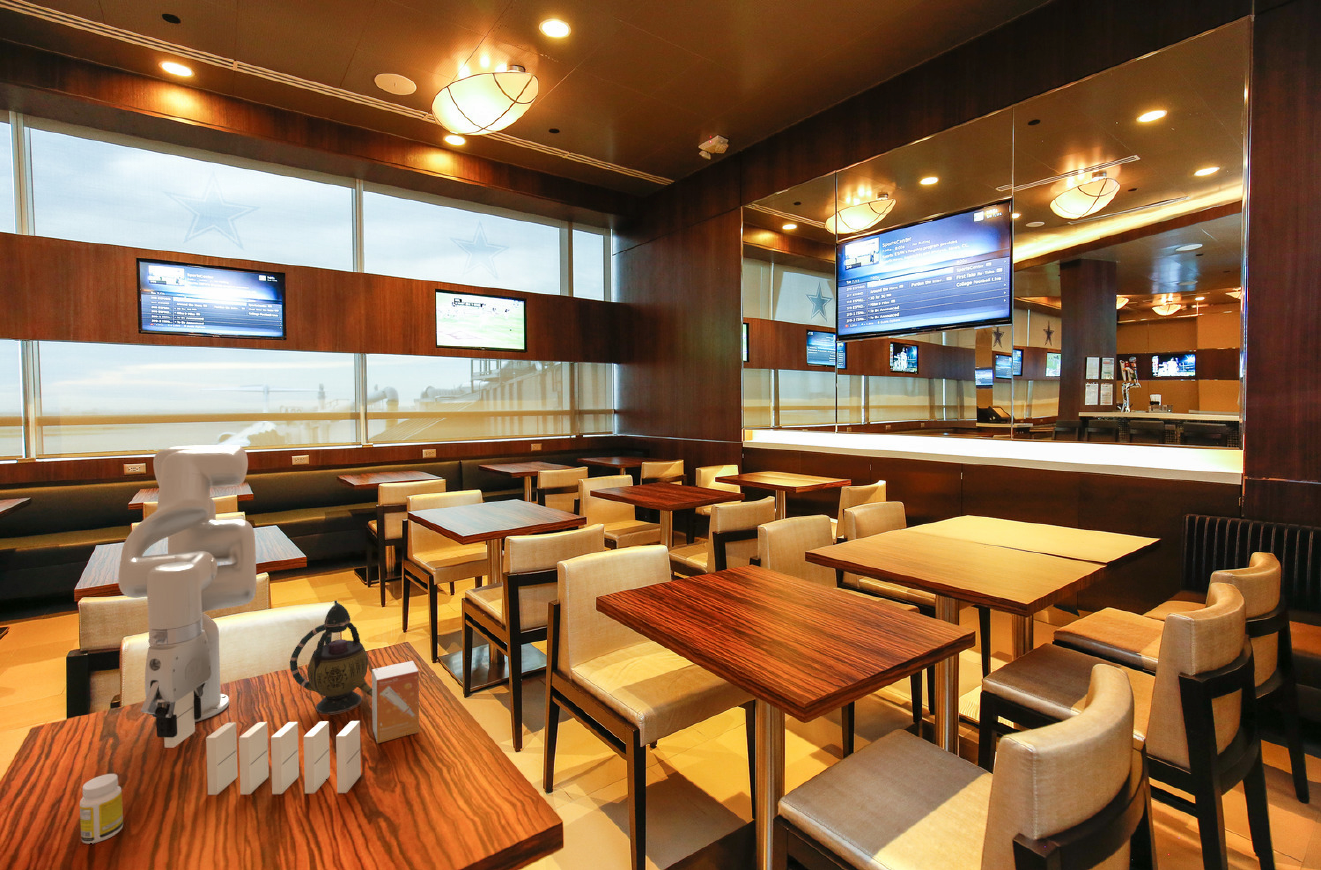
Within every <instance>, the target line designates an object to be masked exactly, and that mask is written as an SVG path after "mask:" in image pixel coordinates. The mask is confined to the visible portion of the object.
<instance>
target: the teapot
mask: <svg viewBox="0 0 1321 870" xmlns="http://www.w3.org/2000/svg"><path fill="white" fill-rule="evenodd" d="M333 602H334V603H333V606H331V607H330V609H329V610H328V612H327V614H326V616H325V619H324V623H323V624H321V625H318V626H317V627H315V628H313V629H311V630H310V631H309V632H308V633H307V634H306V635H304V636H303V637H302V638H301V639H300V641H299V642H298V643H297V645H296V647H295V648H294V650H293V652H292V654H291V656H290V661H289V668H290V671H291V675H292V677H293V679H294V681H296V683H297V684H299V685H300V686H302V687H303V688H305V689H306V690H307V691H311V692H316V693H317V694H319V695H320V696H322V697H323V698H322V699H321V700H320V701H318V703H317V704H316V707H315V711H316V710H317V711H316V713H318V712H319V713H318V714H320V713H321V714H320V715H325V714H327V715H326V716H329V715H328V714H330V716H331V715H337V714H343V713H345V712H346V713H347V712H349V711H351V710H353V709H355V708H356V707H358V706H359V705H360V704H361V703H362V700H363V699H362V696H361V694H359V693H357V692H355V690H356V689H357V688H359V689H360V690H361V691H363V692H364V693H365V694H366V695H369V696H370V697H371V698H372V686H370V685H369V684H368V683H367V682H366V679H365V677H366V675H367V673H368V667H369V666H368V665H369V658H368V657H369V656H368V654H367V651H366V649H365V646H364V645H363V643H362V642H361V638H360V634H359V631H358V630H357V627H356V626H355V625H354V624H353V623H352V622H351V615H350V613H349V611H348V610H347V608H346V607H344V605H343V604H341V603H339V602H338V600H333ZM347 629H349V631H350V633H351V637H352V640H347V639H336V640H332V639H333V638H332V636H333V634H335V633H338V634H339V633H342V632H345V631H346V630H347ZM321 632H323V633H322V635H321V637H320V639H319V641H318V642H317V646H316V649H315V650H314V651H313V653H312V655H311V657H310V660H309V663H308V666H307V675H306V676H307V679H305V678H304V677H303V676H302V674H301V673H300V670H299V667H298V659H299V656H300V654H301V652H302V651H303V649H304V647H305V645H306V644H307V643H308V642H310V640H311V639H312V638H313V637H314V636H316V635H317V634H319V633H321Z"/></svg>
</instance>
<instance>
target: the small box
mask: <svg viewBox="0 0 1321 870" xmlns="http://www.w3.org/2000/svg"><path fill="white" fill-rule="evenodd" d="M419 673H420V671H419V669H418V667H417V666H416V664H415V661H414V660H410V661H405V662H400V663H395V664H394V663H393V664H390V665H389V664H388V665H386V666H382V667H377V668H373V669H371V688H372V697H371V700H372V701H371V707H372V708H371V709H372V710H371V711H372V717H371V718H372V732H373V735H374V737H375V740H376V743H377V744H380V743H384V742H388V741H391V740H396V739H399V738H402V737H406V735H407V736H411V735H414V734H418V732H419V733H420V679H419V678H420V677H419V675H420V674H419Z"/></svg>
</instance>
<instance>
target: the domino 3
mask: <svg viewBox="0 0 1321 870" xmlns="http://www.w3.org/2000/svg"><path fill="white" fill-rule="evenodd" d="M238 746H239V748H238V749H239V750H238V751H239V782H240V783H239V788H240V795H251V794H252V793H253V792H254V791H255V790H257V789H258V788H259V786H260V785H262V784H263V783H264V782H265V781H266V780H267V779H268V778H269V777H270V775H269V737H268V721H265V722H264V721H261V722H256V723H255V724H254V725H253V726H252V727H250V728H249V729H248V730H247V731H245V732H243V734H241V735H240V736H238Z"/></svg>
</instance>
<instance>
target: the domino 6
mask: <svg viewBox="0 0 1321 870" xmlns="http://www.w3.org/2000/svg"><path fill="white" fill-rule="evenodd" d="M335 742H336V743H335V744H336V745H335V746H336V749H335V750H336V790H337V791H336V792H337V794H347V793H348V792H349V790H351V789H352V787H353V786H354V784H355V783H356V782H357V781H358V780H359V778H360V777H361V776H362V774H361V773H362V768H361V766H362V765H361V764H362V763H361V761H362V759H361V720H350V721H349V722H348V724H346V725H345V726H344V728H343V729H341V730H340V732H339V733H338V734H336V736H335Z"/></svg>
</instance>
